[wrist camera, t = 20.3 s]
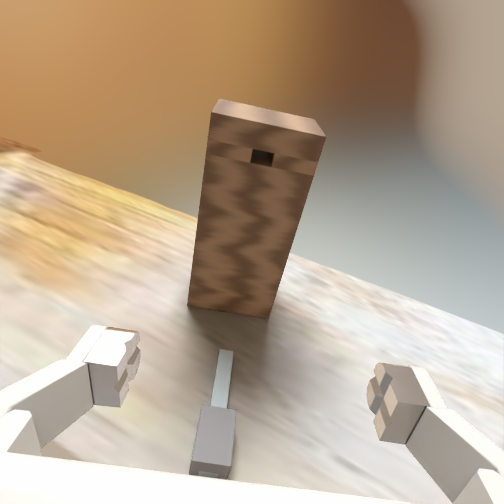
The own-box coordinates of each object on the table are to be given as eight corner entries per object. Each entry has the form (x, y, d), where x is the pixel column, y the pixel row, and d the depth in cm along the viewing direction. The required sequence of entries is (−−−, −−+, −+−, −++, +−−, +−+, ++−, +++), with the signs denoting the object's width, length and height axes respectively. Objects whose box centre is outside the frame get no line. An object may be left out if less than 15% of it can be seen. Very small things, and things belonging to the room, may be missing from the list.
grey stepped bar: (225, 481, 35) (230, 466, 33) (188, 476, 35) (191, 460, 33) (238, 359, 48) (243, 343, 46) (211, 354, 48) (215, 338, 46)
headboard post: (187, 305, 55) (211, 111, 38) (196, 270, 63) (219, 98, 47) (268, 318, 56) (326, 136, 40) (267, 282, 65) (314, 119, 48)
